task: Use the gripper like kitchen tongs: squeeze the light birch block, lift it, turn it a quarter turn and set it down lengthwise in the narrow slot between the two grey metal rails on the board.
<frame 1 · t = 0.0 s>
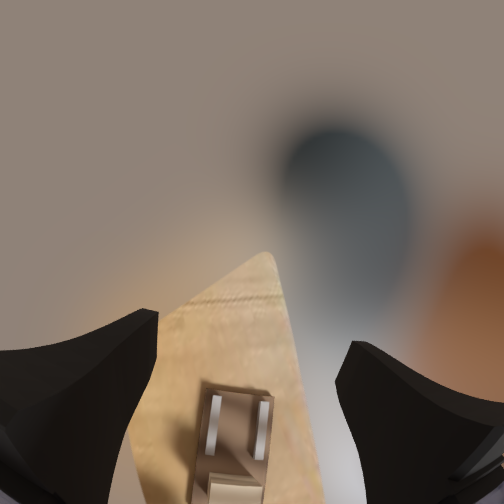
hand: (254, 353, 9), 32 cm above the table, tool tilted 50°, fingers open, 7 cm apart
block: (229, 486, 27), point 1 cm above the table, touching board
board: (232, 455, 31), on the table
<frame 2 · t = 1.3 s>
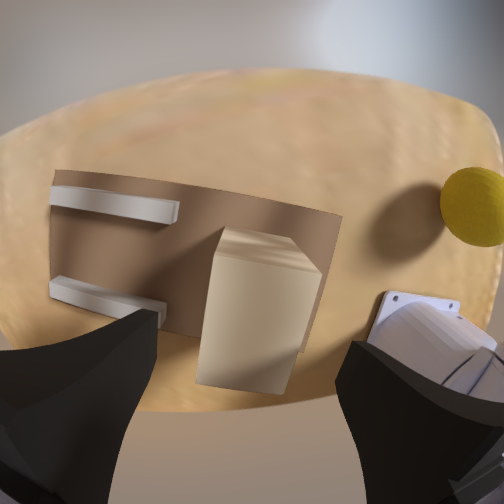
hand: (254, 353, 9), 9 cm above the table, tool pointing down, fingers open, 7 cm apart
block: (248, 278, 17), point 1 cm above the table, touching board
board: (175, 258, 18), on the table
lemon: (443, 200, 18), on the table
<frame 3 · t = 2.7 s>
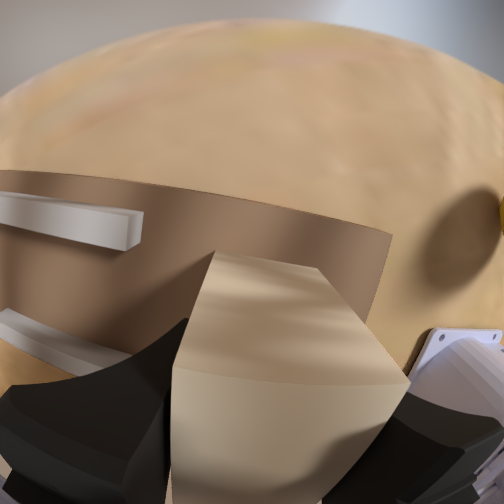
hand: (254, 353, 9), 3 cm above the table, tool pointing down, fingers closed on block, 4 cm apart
block: (252, 328, 11), point 1 cm above the table, touching board, gripper
board: (144, 294, 12), on the table
lemon: (498, 210, 12), on the table
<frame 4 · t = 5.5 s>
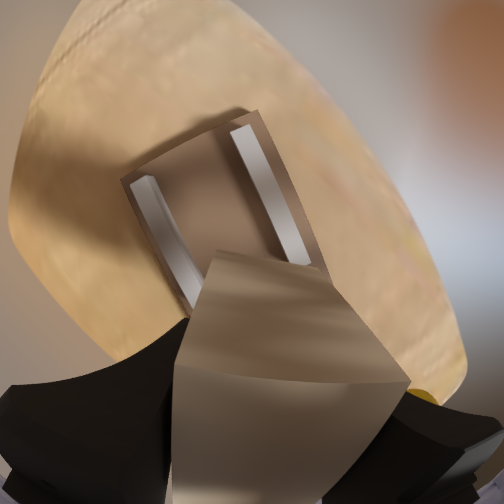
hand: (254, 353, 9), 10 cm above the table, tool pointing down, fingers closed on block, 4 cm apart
block: (252, 327, 11), point 8 cm above the table, touching gripper
board: (250, 275, 19), on the table
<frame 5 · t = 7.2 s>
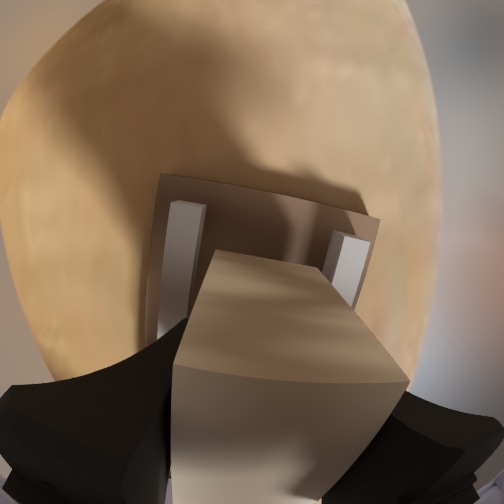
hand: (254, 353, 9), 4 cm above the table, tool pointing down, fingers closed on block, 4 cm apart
block: (252, 327, 11), point 3 cm above the table, touching gripper
board: (235, 371, 15), on the table
when the fingers open (4 cm above the table, at t = 8.5 s): block stays where it is, resting on board.
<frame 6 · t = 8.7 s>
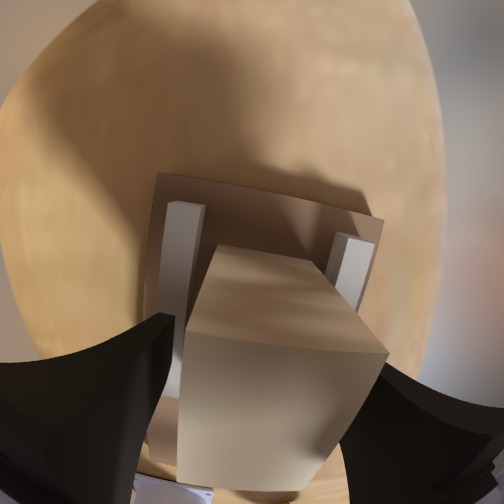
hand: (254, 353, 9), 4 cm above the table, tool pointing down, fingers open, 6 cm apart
block: (251, 316, 12), point 1 cm above the table, touching board
board: (235, 375, 14), on the table
lemon: (285, 501, 20), on the table
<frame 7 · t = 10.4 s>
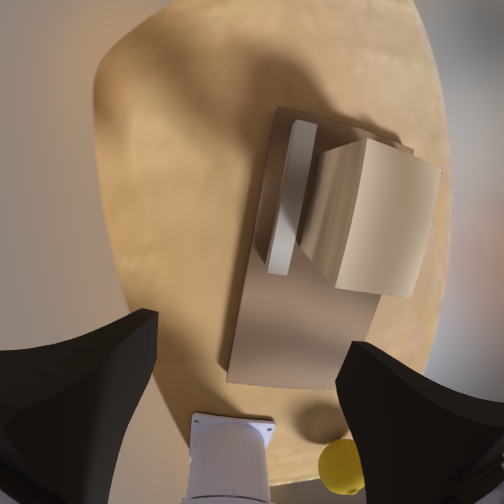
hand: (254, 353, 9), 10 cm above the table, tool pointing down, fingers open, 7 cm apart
block: (339, 207, 17), point 1 cm above the table, touching board
board: (318, 269, 19), on the table
lemon: (335, 438, 24), on the table
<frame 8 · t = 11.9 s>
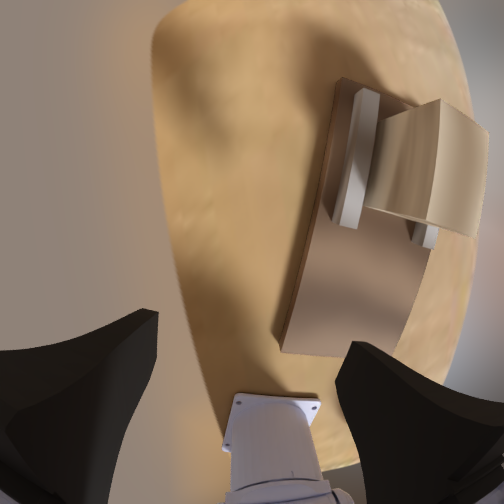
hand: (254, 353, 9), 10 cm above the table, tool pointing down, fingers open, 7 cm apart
block: (395, 171, 16), point 1 cm above the table, touching board
board: (374, 231, 19), on the table
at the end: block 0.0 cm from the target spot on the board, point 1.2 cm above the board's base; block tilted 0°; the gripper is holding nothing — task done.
